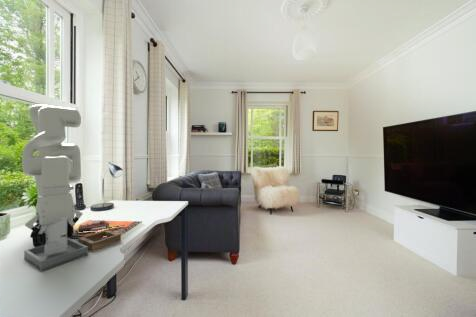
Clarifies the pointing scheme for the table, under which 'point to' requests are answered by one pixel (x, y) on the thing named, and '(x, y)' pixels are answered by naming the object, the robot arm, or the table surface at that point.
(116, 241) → the holder
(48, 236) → the skincare box
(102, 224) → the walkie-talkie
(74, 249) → the tray
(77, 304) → the table surface
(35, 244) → the controller
